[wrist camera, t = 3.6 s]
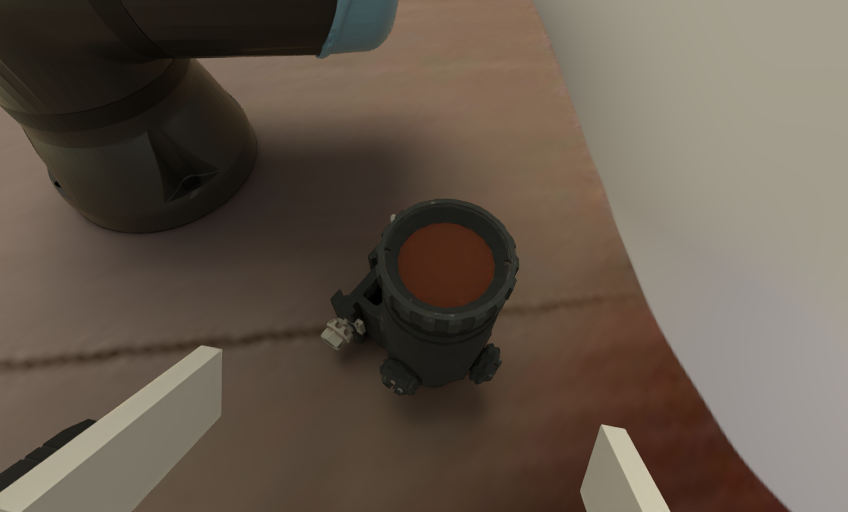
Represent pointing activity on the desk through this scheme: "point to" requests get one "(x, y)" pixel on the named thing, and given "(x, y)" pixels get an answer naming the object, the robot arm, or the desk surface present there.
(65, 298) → the desk surface
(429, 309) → the scope
